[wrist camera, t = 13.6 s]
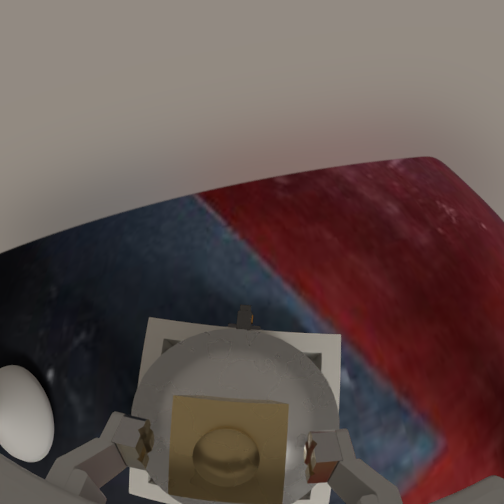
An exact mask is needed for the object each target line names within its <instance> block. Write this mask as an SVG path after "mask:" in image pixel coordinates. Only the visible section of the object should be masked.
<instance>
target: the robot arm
mask: <svg viewBox="0 0 504 504" xmlns="http://www.w3.org/2000/svg"><path fill="white" fill-rule="evenodd" d="M150 426H151V423H150V420H149V419H144V418H140V417H136V416H132V415H128V414H124V413H120V412H116V411H115V412H113V413H112V414H111V416H110V418H109V420H108V422H107V424H106V426H105V428H104V430H103V432H102V434H101V436H100V438H95V439H93V440H91V441H89V442H88V443H86V444H84V445H82V446H80V447H78V448H76V449H75V450H73V451H71V452H69V453H67V454H65V455H63V456H61V457H59V458H57V459H56V461H55V462H54V464H53V466H52V468H51V470H50V472H49V473H48V475H47V477H46V479H45V480H44V479H42V478H40V477H38V476H37V475H35V474H33V473H31V472H29V471H28V470H26V469H24V468H22V467H21V466H19V465H17V464H16V463H14V462H13V461H11V460H9V459H8V458H6V457H5V456H3V455H2V454H0V504H105V503H106V501H107V499H106V497H105V496H104V495H103V493H102V492H101V491H100V490H99V488H100V487H102V486H103V485H104V484H106V483H107V482H108V481H109V480H111V479H112V478H113V477H115V476H116V475H117V474H119V473H120V472H121V471H122V470H124V469H125V468H126V466H128V467H132V468H136V469H141V470H146V467H147V464H148V461H149V456H148V453H149V452H151V451H152V449H153V445H154V433H153V431H152V430H151V429H150ZM307 437H308V441H307V442H305V446H304V452H303V455H304V463H305V464H306V465H307V468H306V470H305V473H306V481H307V484H310V483H326V482H328V483H327V484H328V485H329V486H330V487H331V488H332V489H333V490H334V491H335V492H336V493H337V494H338V495H339V497H340V498H341V499H342V500H343V501H344V502H345V503H346V504H403V503H402V500H401V497H400V494H399V491H398V488H397V487H396V486H394V485H393V484H392V483H390V482H389V481H388V480H386V479H385V478H384V477H382V476H381V475H380V474H378V473H377V472H376V471H375V470H373V469H372V468H371V467H369V466H368V465H367V464H366V463H364V462H363V461H362V460H361V459H356V457H355V453H354V450H353V446H352V443H351V439H350V436H349V432H348V430H347V429H337V430H321V431H310V432H309V433H308V436H307ZM429 504H504V479H503V478H501V477H498V476H496V475H492V476H489V477H487V478H485V479H483V480H481V481H479V482H477V483H475V484H473V485H471V486H469V487H467V488H465V489H463V490H460V491H458V492H456V493H454V494H451V495H449V496H447V497H444V498H442V499H439V500H437V501H434V502H432V503H429Z"/></svg>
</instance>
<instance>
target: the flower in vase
mask: <svg viewBox="0 0 504 504" xmlns="http://www.w3.org/2000/svg"><path fill="white" fill-rule="evenodd" d="M53 437H54V418H53V412H52V409H51V405H50V402H49V400H48V397H47V395H46V393H45V391H44V389H43V388H42V386H41V385H40V383H39V381H38V380H37V379H36V378H35V377H34V376H33V375H32V374H31V373H30V372H29V371H28V370H26V369H25V368H23V367H20V366H17V365H9V366H5V367H2V368H0V444H1V445H2V447H3V448H4V449H5V450H6V451H7V452H8V453H10V454H11V455H12V456H14V457H16V458H18V459H21V460H23V461H27V462H36V461H39V460H41V459H43V458H44V457H45V456H46V455H47V454H48V452H49V450H50V448H51V445H52V441H53Z"/></svg>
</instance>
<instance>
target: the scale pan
mask: <svg viewBox="0 0 504 504" xmlns="http://www.w3.org/2000/svg"><path fill="white" fill-rule="evenodd" d="M252 323H253V315H252V312H251V306H250V305H240V311H238V316H237V326H236V329H221V330H214V331H209V332H204V333H201V334H198V335H195V336H192V337H189V338H187V339H185V340H183V341H181V342H179V343H177V344H176V345H174V346H173V347H171V348H169V349H168V350H167V351H166V352H164V353H163V354H162V355H161V356H160V357H158V359H157V360H156V361H155V362H154V363H153V364H152V365H151V366H150V368H149V369H148V370H147V372H146V373H145V375H144V376H143V378H142V380H141V382H140V384H139V386H138V388H137V391H136V394H135V397H134V400H133V405H132V411H131V415H132V416H136V417H140V418H144V419H149V420H150V423H151V426H150V429H151V430H152V431H153V433H154V445H153V449H152V451H151V452H149V453H148V456H149V461H148V464H147V467H146V471H147V473H148V474H149V475H150V477H151V478H152V479H153V481H154V482H155V483H156V484H157V485H158V486H159V487H160V488H161V489H162V490H163V491H164V492H166V493H167V494H168V474H169V450H170V432H171V417H172V404H173V395H204V396H214V397H225V398H238V399H256V400H273V401H278V402H282V403H287V404H289V413H288V432H287V449H286V464H285V478H284V490H283V502H282V504H293V503H294V502H296V501H297V500H299V499H300V498H302V497H303V496H304V495H305V494H307V493H308V492H309V491H310V490H311V489H312V488H313V487H314V486H315V485H316V484H317V483H310V484H307V481H306V473H305V470H306V468H307V465H306V464H305V463H304V455H303V452H304V446H305V442H307V441H308V437H307V436H308V433H309V432H310V431H321V430H337V429H339V414H338V407H337V404H336V400H335V397H334V394H333V392H332V389H331V387H330V385H329V383H328V381H327V380H326V378H325V377H324V375H323V373H322V372H321V371H320V370H319V368H318V367H317V366H316V365H315V364H314V362H312V361H311V360H310V359H309V358H308V357H307V356H306V355H305V354H304V353H302V352H301V351H300V350H298V349H297V348H295V347H294V346H292V345H291V344H289V343H287V342H285V341H283V340H281V339H279V338H276V337H274V336H271V335H269V334H265V333H261V332H258V331H252V330H251V324H252ZM168 495H169V494H168ZM169 496H171V497H172V498H173V499H175V500H176V501H178V502H180V503H182V504H243V503H227V502H216V501H207V500H199V499H192V498H186V497H180V496H174V495H169Z"/></svg>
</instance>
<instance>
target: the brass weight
mask: <svg viewBox="0 0 504 504" xmlns="http://www.w3.org/2000/svg"><path fill="white" fill-rule="evenodd" d="M288 413H289V404H287V403H282V402H278V401H273V400H256V399H238V398H225V397H214V396H204V395H173V404H172V417H171V432H170V450H169V474H168V494H169V495H174V496H180V497H186V498H192V499H199V500H207V501H216V502H227V503H243V504H282V502H283V490H284V478H285V464H286V449H287V432H288Z"/></svg>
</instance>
